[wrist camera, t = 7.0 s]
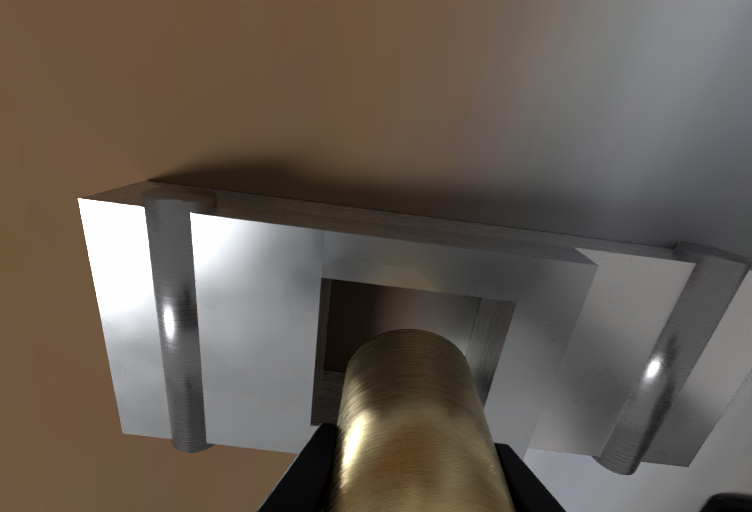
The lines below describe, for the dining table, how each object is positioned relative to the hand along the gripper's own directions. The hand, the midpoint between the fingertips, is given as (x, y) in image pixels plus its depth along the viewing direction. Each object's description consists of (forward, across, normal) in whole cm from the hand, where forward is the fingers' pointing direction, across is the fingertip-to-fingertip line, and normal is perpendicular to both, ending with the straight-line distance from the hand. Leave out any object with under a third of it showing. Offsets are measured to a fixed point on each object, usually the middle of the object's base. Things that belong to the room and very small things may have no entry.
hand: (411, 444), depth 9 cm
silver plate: (+6, -1, 0) cm, 6 cm away
